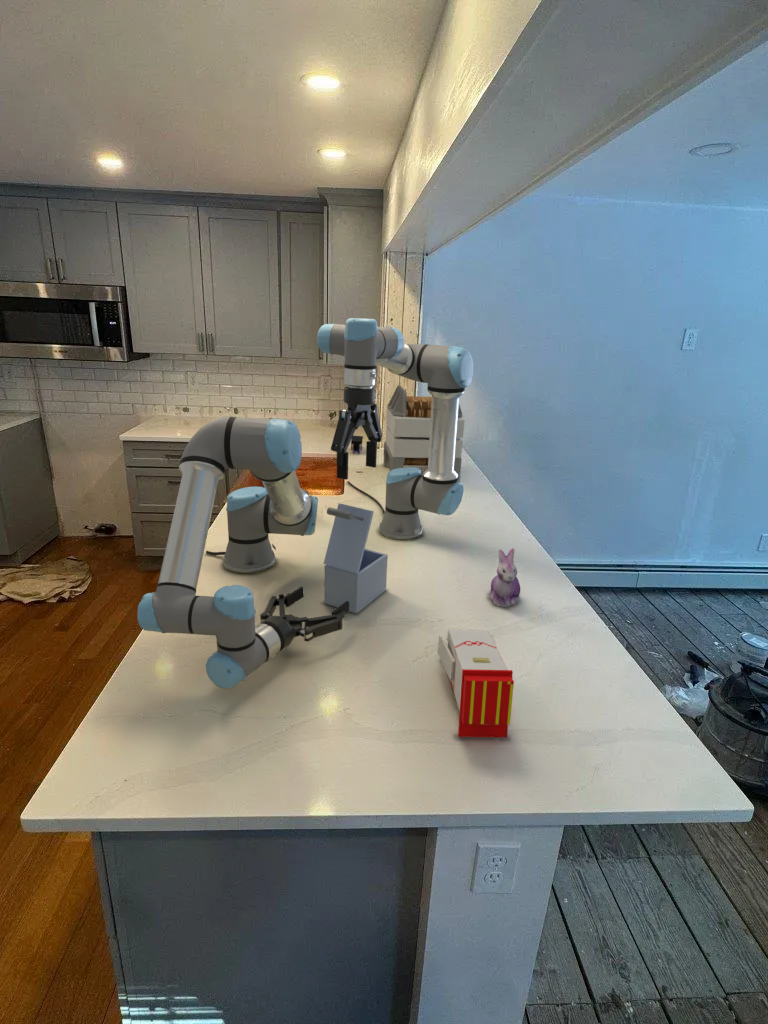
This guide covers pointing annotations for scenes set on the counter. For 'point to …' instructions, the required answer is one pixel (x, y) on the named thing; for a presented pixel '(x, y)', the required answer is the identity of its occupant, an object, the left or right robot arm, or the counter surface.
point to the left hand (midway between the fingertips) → (324, 598)
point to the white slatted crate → (413, 432)
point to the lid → (348, 537)
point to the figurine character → (356, 443)
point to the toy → (478, 682)
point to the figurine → (505, 581)
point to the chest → (356, 582)
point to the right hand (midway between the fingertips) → (357, 472)
